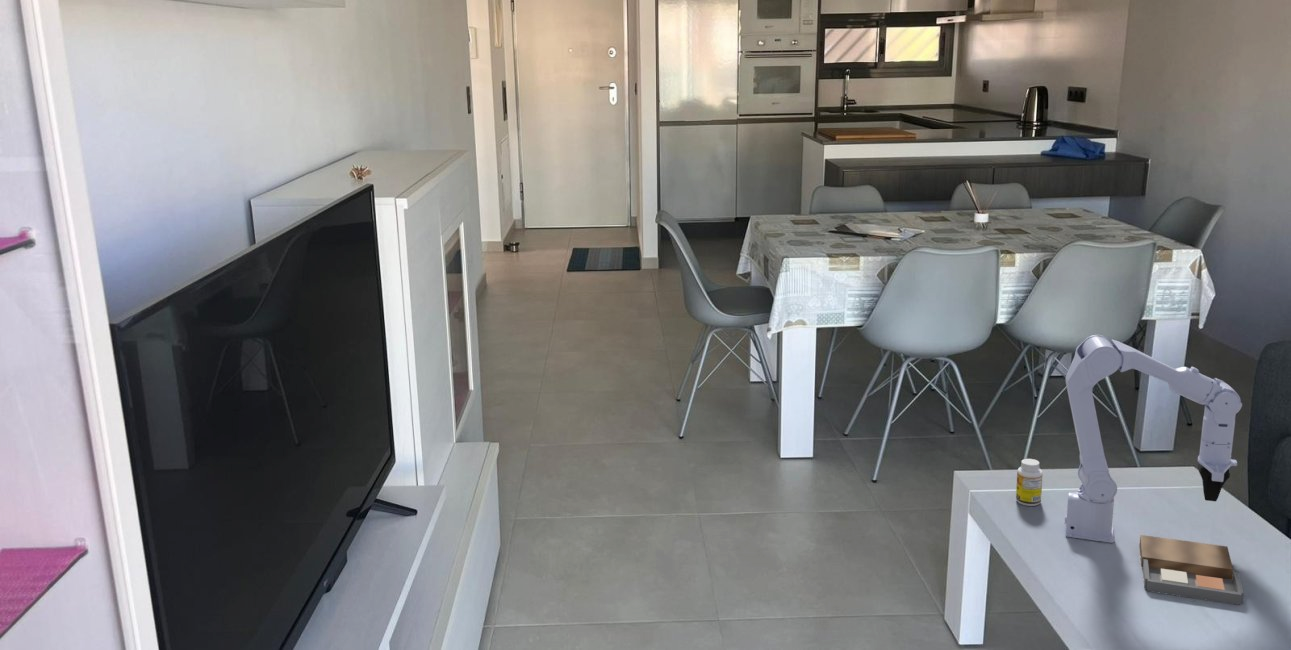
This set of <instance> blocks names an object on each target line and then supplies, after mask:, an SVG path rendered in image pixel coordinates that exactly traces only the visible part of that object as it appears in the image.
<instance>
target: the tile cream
mask: <svg viewBox="0 0 1291 650" xmlns="http://www.w3.org/2000/svg"><path fill="white" fill-rule="evenodd" d="M1160 580H1161V581H1165V582H1172V583H1178V584H1185V585H1188V580H1187V573H1186V572H1182V571H1175V570H1168V569H1161V570H1160Z"/></svg>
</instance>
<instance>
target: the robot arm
mask: <svg viewBox="0 0 1291 650" xmlns="http://www.w3.org/2000/svg"><path fill="white" fill-rule="evenodd" d="M1111 341H1112V342H1111ZM1112 343H1113V344H1112ZM1118 370H1119V371H1120V373H1124V372H1127V371H1129V370H1135V371H1136V370H1137V371H1138V372H1141V373H1143V374H1146V375H1148V376H1150V377H1153V378H1155V379H1158V380H1160V381H1163V382H1165V383H1167V384H1168V388H1169V390H1170V392H1173V393H1175V394H1177V395H1179V396H1182V397H1183V398H1186V399H1188V400H1190V401H1193V402H1195V403H1196V404H1199V405H1202V406H1203V405H1204V412H1203V419H1202V425H1201V426H1202V427H1201V436H1200V443H1199V444H1200V445H1199V455H1198V456H1197V462H1198V464H1197V469H1198V473H1199V475H1200V477H1201V480H1202V487H1203V488H1202V490H1203V496H1204V500H1205V501H1207V502H1209V501H1210V502H1217V500H1218V498H1219V497H1220V494H1221V490H1222V488H1223V487H1224V485H1225V484H1226V482H1227V481H1228V480H1229V479H1230V477H1231V473H1230V468H1231V467H1238V461H1237V459H1234V458H1233V459H1232V453H1233V452H1232V451H1233V444H1234V443H1233V442H1234V434H1235V425H1236V414H1237V413H1238V414H1239V412H1240V410H1241V409H1242V407H1243V403H1242V400H1241V397H1240V395H1239V393H1237V392H1236V390H1235V389H1234V388H1233V387H1231V386H1230V385H1229V384H1228V383H1226V382H1225V381H1224V380H1222V379H1219V378H1217V377H1214V378H1211V377H1209V376H1207V375H1204V374H1202V373H1201V372H1200V370H1199V369H1198V368H1196V367H1194V366H1191V367H1190V368H1189V367H1188V366H1180V367H1179V366H1178V367H1176V368H1174V367H1172V366H1170V365H1168V364H1166V363H1164V362H1162V361H1160V360H1158V359H1156V358H1154V357H1152V356H1150V355H1148V354H1146V353H1144V352H1142V351H1140V350H1138V349H1136V348H1134V347H1132V346H1130V345H1127V344H1125V343H1123V342H1121V341H1118V340H1115V339H1111V340H1110V339H1109V338H1108V337H1106V336H1105V335H1101V334H1094V335H1090V336H1088V337H1086V338H1085V339H1084V340H1082V342H1081V343H1080V344H1079V345H1077V347H1076V348H1075V353H1074V356H1073V358H1072V362H1071V364H1070V366H1069V368H1068V370H1067V372H1066V375H1065V385H1066V391H1067V396H1068V401H1069V405H1070V410H1071V415H1072V420H1073V426H1074V431H1075V435H1076V441H1077V445H1078V450H1079V456H1078V458H1079V467H1078V469H1077V476H1078V478H1079V480H1080V481H1081V485H1080V486H1079V488H1078V490H1077V491H1069V492H1068V493H1067V509H1066V515H1064V525H1066V526H1065V537H1067V538H1072V539H1081V540H1089V541H1095V542H1103V543H1110V544H1113V543H1114V540H1115V539H1114V538H1115V537H1114V525H1113V521H1114V519H1113V518H1114V505H1115V496H1116V495H1117V492H1118V486H1117V483H1116V481H1115V480H1114V478H1113V477H1112V475H1111V472H1110V470H1109V467H1108V466H1109V465H1108V464H1107V459H1106V456H1105V452H1104V451H1105V450H1104V446H1103V441H1102V436H1101V431H1100V427H1099V421H1098V416H1097V411H1096V405H1095V400H1094V396H1093V395H1094V394H1093V387H1095V386H1096V384H1097V383H1098V382H1099V381H1102V380H1104V379H1106V378H1108V377H1109V376H1111V375H1113V374H1114V373H1115V372H1117V371H1118Z"/></svg>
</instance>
